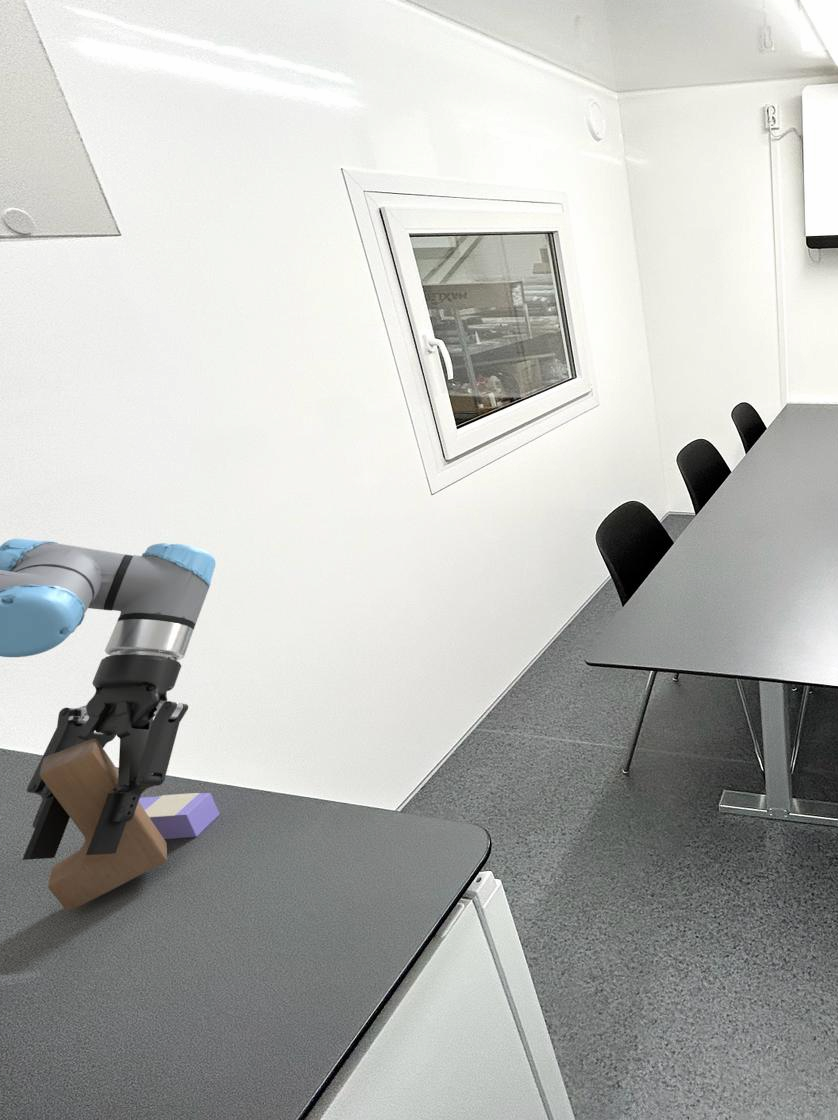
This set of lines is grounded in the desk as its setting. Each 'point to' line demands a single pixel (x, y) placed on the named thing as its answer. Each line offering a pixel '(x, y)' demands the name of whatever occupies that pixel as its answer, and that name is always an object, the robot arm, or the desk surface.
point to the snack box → (180, 813)
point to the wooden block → (82, 793)
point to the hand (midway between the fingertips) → (70, 856)
